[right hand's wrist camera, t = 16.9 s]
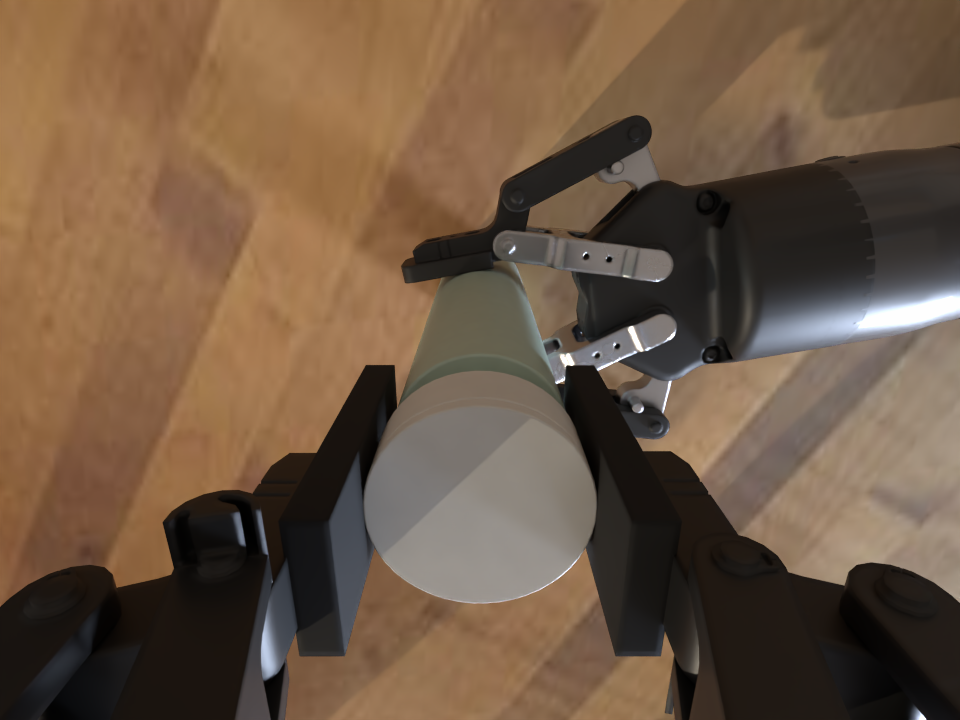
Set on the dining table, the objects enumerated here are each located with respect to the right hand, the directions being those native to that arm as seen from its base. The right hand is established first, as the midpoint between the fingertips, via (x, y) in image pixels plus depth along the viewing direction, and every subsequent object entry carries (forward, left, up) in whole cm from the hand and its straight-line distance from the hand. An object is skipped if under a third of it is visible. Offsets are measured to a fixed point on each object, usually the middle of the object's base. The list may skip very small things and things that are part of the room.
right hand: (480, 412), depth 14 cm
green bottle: (0, 0, -15) cm, 15 cm away
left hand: (+2, +2, -9) cm, 10 cm away
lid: (0, 0, +4) cm, 4 cm away
